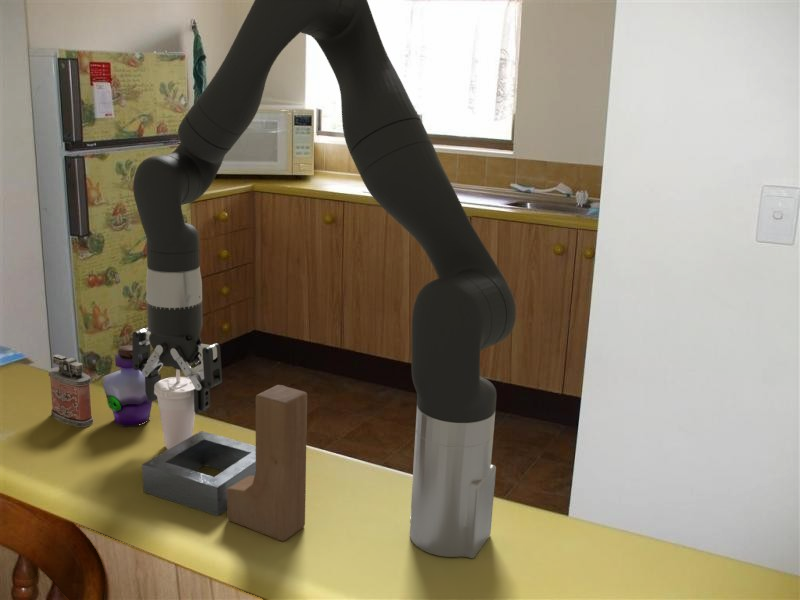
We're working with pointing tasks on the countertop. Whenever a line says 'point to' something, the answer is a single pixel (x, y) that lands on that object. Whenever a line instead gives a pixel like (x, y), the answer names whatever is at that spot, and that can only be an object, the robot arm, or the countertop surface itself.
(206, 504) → the frame
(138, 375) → the potion bottle
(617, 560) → the countertop surface
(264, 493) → the wooden block
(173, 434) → the smoothie
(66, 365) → the lighter
